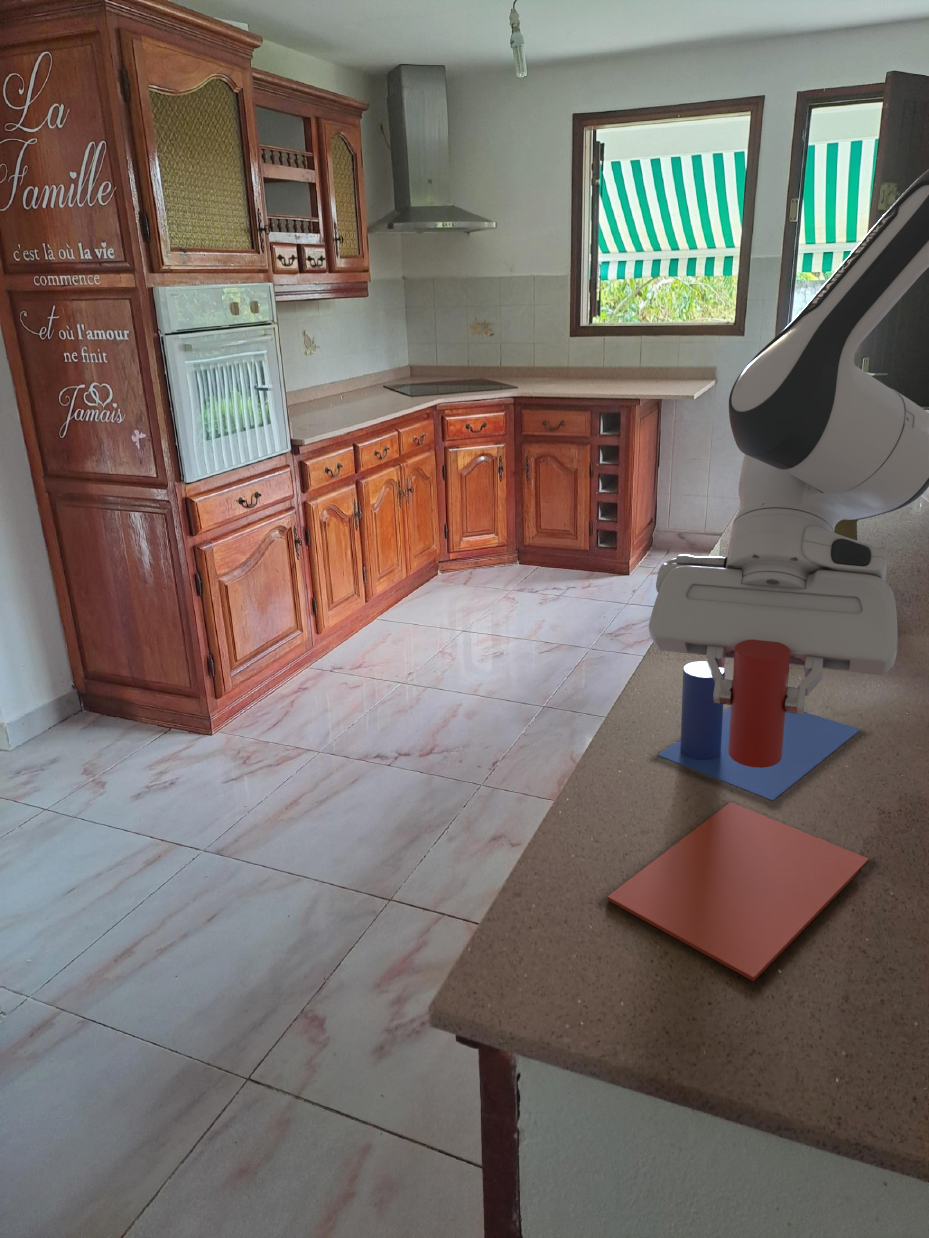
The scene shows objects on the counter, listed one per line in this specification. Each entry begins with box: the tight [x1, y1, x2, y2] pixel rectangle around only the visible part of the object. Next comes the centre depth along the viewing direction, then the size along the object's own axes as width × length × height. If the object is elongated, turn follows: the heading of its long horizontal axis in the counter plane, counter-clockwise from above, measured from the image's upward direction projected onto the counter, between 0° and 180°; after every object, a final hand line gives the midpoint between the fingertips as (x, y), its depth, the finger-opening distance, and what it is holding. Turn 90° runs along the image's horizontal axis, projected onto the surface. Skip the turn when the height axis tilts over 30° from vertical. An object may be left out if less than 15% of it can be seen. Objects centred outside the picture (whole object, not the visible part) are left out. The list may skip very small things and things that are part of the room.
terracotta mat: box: [606, 801, 870, 982], centre depth 78 cm, size 14×20×1 cm
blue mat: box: [657, 707, 861, 801], centre depth 100 cm, size 14×20×1 cm
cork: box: [834, 520, 859, 541], centre depth 157 cm, size 6×6×11 cm
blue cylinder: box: [680, 660, 726, 760], centre depth 97 cm, size 4×4×10 cm
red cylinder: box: [728, 639, 791, 768], centre depth 74 cm, size 4×4×10 cm
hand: (758, 706), depth 74 cm, fingers closed on red cylinder, 4 cm apart
